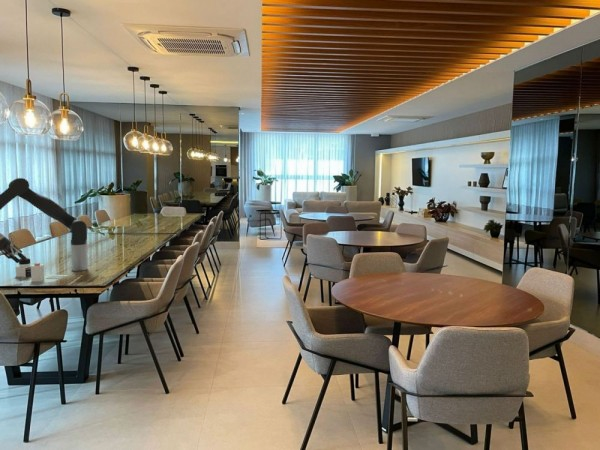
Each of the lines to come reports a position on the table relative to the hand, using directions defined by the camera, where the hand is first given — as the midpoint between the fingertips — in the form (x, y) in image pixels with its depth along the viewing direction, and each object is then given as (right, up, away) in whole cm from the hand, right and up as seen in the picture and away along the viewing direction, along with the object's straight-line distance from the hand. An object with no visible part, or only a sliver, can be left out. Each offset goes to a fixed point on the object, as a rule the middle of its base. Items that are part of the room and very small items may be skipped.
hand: (22, 260), depth 270 cm
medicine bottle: (-6, -12, +14) cm, 19 cm away
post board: (+11, -12, +8) cm, 18 cm away
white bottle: (+8, -12, +3) cm, 14 cm away
